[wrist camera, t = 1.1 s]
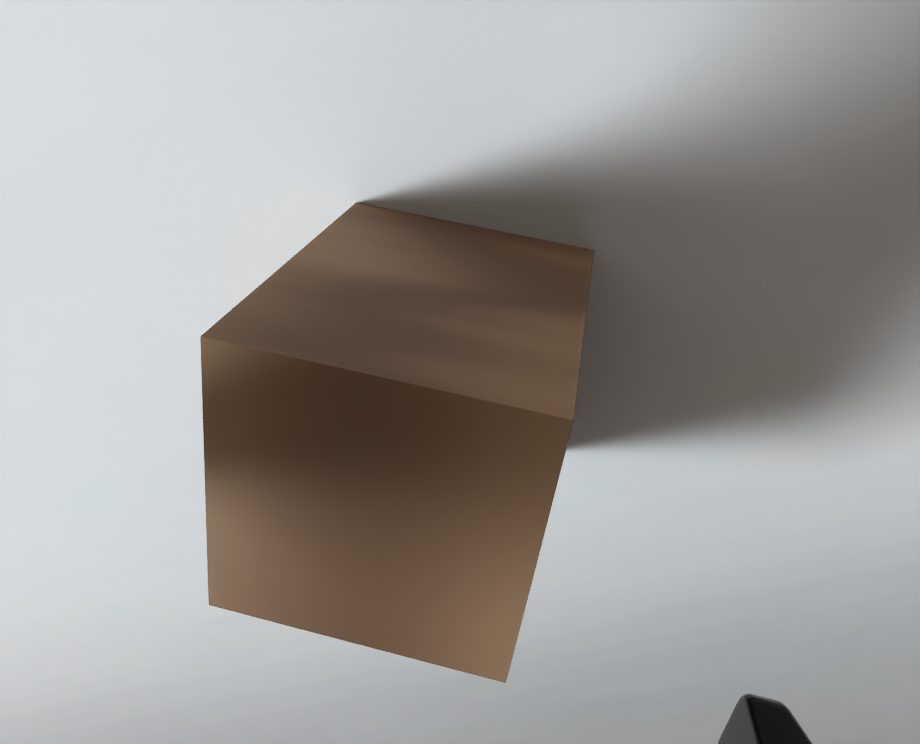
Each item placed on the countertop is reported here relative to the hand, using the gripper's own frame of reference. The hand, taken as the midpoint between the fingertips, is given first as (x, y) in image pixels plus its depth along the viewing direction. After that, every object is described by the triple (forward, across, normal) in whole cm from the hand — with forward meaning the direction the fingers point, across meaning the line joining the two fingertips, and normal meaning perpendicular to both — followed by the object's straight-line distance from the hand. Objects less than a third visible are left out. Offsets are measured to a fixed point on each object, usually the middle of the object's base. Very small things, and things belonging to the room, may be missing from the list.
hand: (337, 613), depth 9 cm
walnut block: (+8, 0, 0) cm, 8 cm away
